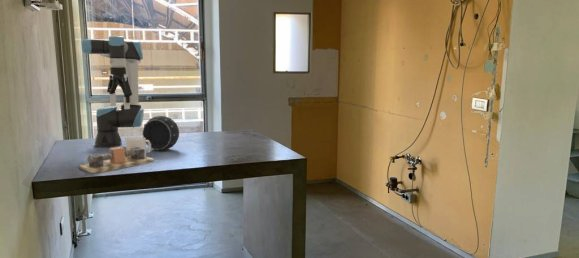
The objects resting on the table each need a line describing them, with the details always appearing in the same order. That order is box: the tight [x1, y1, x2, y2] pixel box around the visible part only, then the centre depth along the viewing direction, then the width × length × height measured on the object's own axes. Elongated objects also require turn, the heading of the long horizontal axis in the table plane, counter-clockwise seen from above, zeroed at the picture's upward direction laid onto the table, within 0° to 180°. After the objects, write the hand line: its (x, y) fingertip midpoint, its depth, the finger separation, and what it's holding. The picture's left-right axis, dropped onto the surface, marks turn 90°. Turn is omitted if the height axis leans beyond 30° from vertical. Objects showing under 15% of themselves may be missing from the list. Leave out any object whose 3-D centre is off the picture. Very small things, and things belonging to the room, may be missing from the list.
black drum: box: [142, 115, 180, 152], centre depth 251 cm, size 11×20×20 cm, turn 78°
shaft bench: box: [78, 148, 155, 174], centre depth 217 cm, size 32×14×6 cm, turn 141°
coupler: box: [109, 146, 126, 163], centre depth 216 cm, size 4×6×7 cm
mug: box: [125, 136, 152, 157], centre depth 235 cm, size 14×10×11 cm
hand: (120, 107), depth 228 cm, fingers open, 13 cm apart
